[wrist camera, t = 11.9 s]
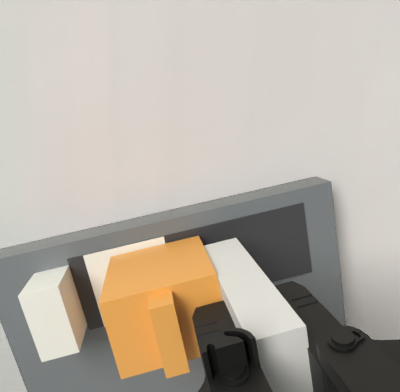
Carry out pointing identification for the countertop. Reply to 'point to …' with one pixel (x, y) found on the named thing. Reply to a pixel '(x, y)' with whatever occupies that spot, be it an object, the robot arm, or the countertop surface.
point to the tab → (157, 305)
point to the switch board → (140, 239)
